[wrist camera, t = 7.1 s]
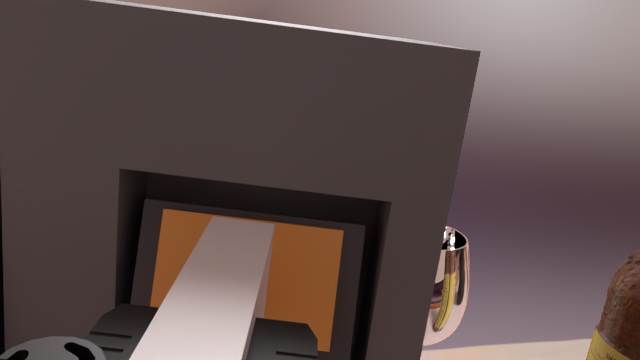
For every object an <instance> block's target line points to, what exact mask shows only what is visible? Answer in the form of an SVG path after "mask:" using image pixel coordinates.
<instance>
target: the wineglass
mask: <svg viewBox="0 0 640 360" xmlns="http://www.w3.org/2000/svg"><path fill="white" fill-rule="evenodd" d="M469 272H470V270H469V247H468V240H467V238H466V237H465V236H464V235H463V234H462V233H460V232H458V231H457V230H455V229H453V228H450V227H448V226H446V229H445V235H444V240H443V245H442V250H441V255H440V260H439V265H438V270H437V275H436V280H435V285H434V290H433V295H432V301H431V306H430V311H429V316H428V321H427V326H426V331H425V336H424V341H423V345H430V344H435V343H437V342H440V341H442V340H443V339H445V338H447V337H448V336H449V335H450V334H452V333H453V332H454V331H455V329H456V328H457V326H458V325H459V323H460V321H461V319H462V316H463V314H464V311H465V308H466V304H467V299H468V292H469V275H470V273H469Z"/></svg>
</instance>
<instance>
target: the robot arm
mask: <svg viewBox="0 0 640 360" xmlns="http://www.w3.org/2000/svg"><path fill="white" fill-rule="evenodd" d="M274 228H275V224H270V223H262V222H254V221H246V220H238V219H231V218H223V217H215V216H213V217H212V218H211V220H210V222H209V224H208V225H207V227H206V229H205V230H204V232H203V234H202V236H201V237H200V239H199V241H198V242H197V244H196V246H195V248H194V249H193V251H192V253H191V254H190V256H189V258H188V260H187V261H186V263H185V265H184V266H183V268H182V270H181V272H180V273H179V275H178V277H177V278H176V280H175V282H174V284H173V285H172V287H171V289H170V290H169V292H168V294H167V296H166V297H165V299H164V301H163V302H162V304H161V306H160V308H158V307H150V306H142V305H134V304H125V303H123V304H121V305H119V306H118V307H116V308H114V309H112V310H111V311H109V312H107V313H105V314H104V315H102V316H101V318H100V319H99V320H98V322H97V323H96V324H95V325H94V327H93V328H92V329H91V331H90V334H88V335H87V336H86V337H85V339H80V338H76V337H61V336H51V337H45V338H40V339H34V340H30V341H27V342H25V343H22V344H19V345H17V346H14V347H12V348H10V349H9V350H7V351H6V352H5V353H3V354H2V355H0V360H317V352H318V339H317V337H316V336H315V334H314V333H313V331H312V330H311V328H310V327H309V325H308V324H307V323H298V322H290V321H282V320H274V319H265V318H264V314H265V305H266V297H267V288H268V279H269V271H270V262H271V254H272V245H273V237H274Z"/></svg>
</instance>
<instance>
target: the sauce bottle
mask: <svg viewBox="0 0 640 360" xmlns="http://www.w3.org/2000/svg"><path fill="white" fill-rule="evenodd" d="M586 360H640V248H639V249H638V250H637V252H636V253H633V254H631V255H630V256H629V257H628V258H627V259H626V261H625V262H624V263H623V264H622V265H621V266H620V267H618V268H617V271H616V272H615V274H614V276H613V278H612V280H611V283H610V286H609V288H608V294H607V299H606V303H605V305H604V310H603V313H602V316H601V320H600V322H599V323H598V324H597V326H596V328H595V330H594V334H593V337H592V341H591V344H590V348H589V352H588V355H587V359H586Z"/></svg>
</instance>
